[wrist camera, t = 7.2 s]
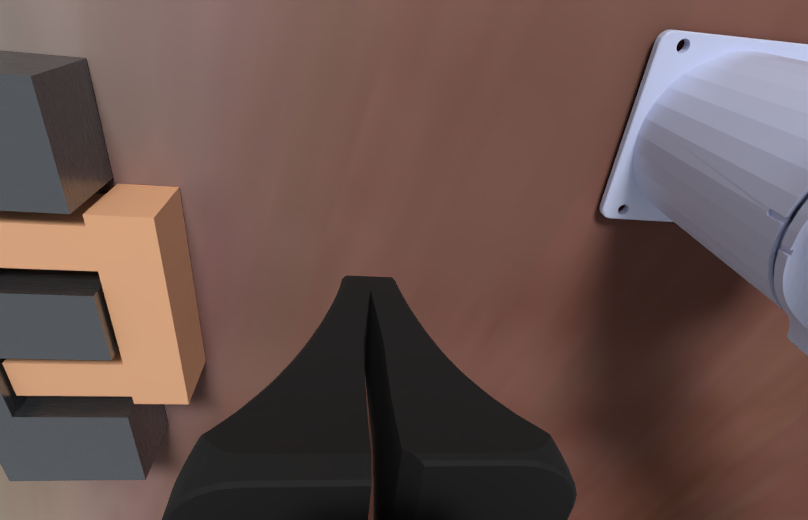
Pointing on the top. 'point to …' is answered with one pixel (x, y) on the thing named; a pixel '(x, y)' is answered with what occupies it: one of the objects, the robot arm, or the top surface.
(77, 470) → the grey hollow block
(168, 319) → the clip
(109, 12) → the top surface
